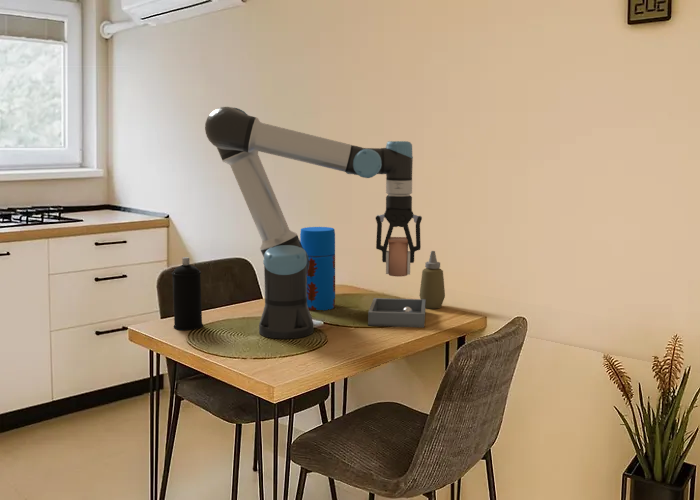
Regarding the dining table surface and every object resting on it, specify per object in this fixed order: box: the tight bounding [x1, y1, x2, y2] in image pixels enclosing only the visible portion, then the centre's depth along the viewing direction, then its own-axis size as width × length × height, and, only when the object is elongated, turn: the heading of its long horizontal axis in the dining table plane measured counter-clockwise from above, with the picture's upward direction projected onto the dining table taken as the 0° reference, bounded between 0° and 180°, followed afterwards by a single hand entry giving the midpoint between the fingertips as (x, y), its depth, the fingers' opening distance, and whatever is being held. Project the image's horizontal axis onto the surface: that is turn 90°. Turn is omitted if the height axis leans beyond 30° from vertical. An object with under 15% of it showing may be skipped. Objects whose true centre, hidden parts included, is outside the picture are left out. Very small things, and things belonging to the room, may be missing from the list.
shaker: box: [388, 236, 409, 277], centre depth 212 cm, size 6×6×11 cm
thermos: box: [299, 226, 336, 311], centre depth 228 cm, size 11×11×25 cm
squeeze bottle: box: [419, 250, 446, 310], centre depth 228 cm, size 8×8×18 cm
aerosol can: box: [170, 256, 204, 331], centre depth 205 cm, size 8×8×20 cm
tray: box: [367, 297, 426, 328], centre depth 215 cm, size 16×18×4 cm
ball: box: [402, 307, 413, 313], centre depth 215 cm, size 3×3×3 cm
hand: (398, 273), depth 213 cm, fingers closed on shaker, 6 cm apart
